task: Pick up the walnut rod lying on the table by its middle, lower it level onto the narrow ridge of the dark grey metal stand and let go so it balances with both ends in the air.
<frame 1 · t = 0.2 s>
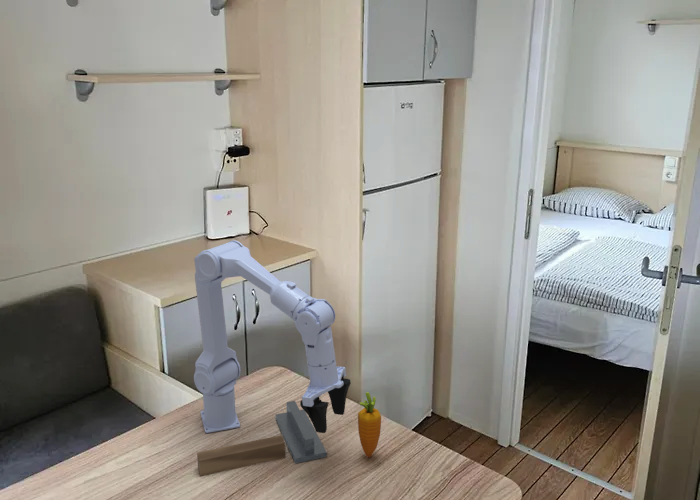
hand: (330, 422, 130), 10 cm above the table, tool pointing down, fingers open, 7 cm apart
carrot: (368, 457, 136), on the table
walnut rod: (242, 463, 134), on the table
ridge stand: (299, 437, 143), on the table
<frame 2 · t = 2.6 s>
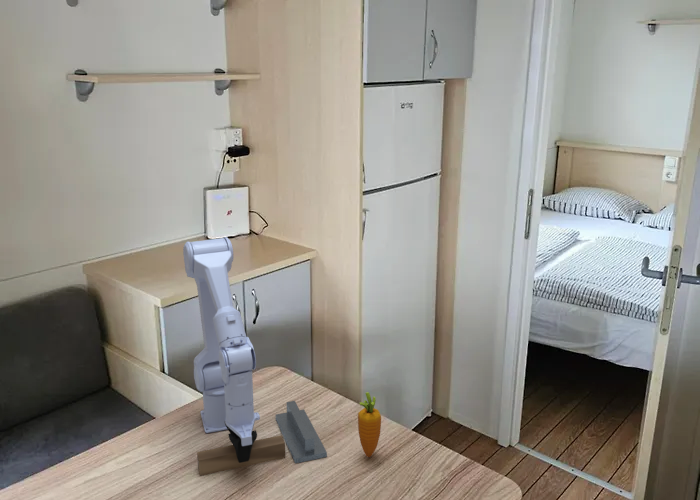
hand: (242, 456, 134), 2 cm above the table, tool pointing down, fingers closed on walnut rod, 3 cm apart
walnut rod: (242, 463, 134), on the table, touching gripper
everything else where it was.
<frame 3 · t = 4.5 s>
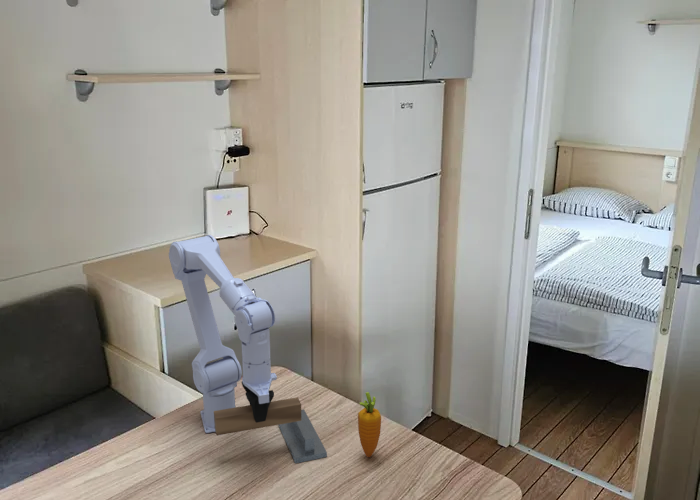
hand: (258, 416, 134), 9 cm above the table, tool pointing down, fingers closed on walnut rod, 3 cm apart
walnut rod: (258, 424, 135), point 8 cm above the table, touching gripper
everything else where it was.
when the fingers open (7 cm above the table, at t = 5.9 s): walnut rod stays where it is, resting on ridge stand.
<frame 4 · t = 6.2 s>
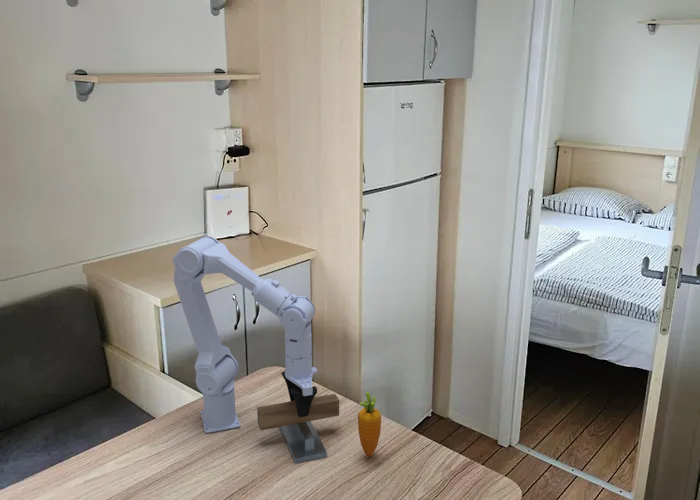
hand: (299, 408, 141), 7 cm above the table, tool pointing down, fingers open, 6 cm apart
walnut rod: (298, 419, 142), point 5 cm above the table, touching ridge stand
everything else where it was.
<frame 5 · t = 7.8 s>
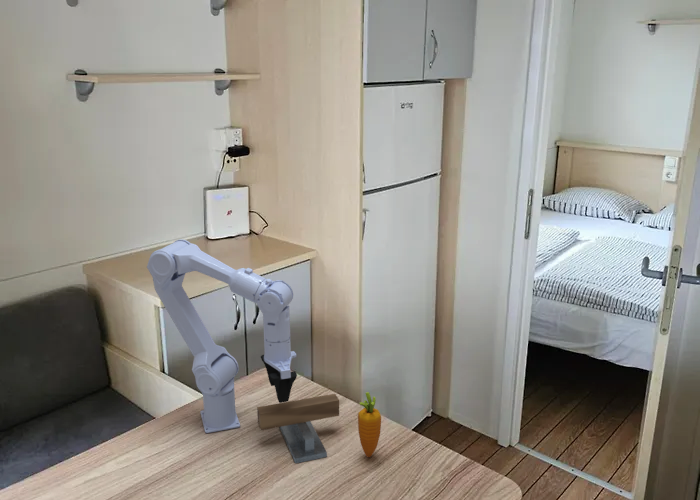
hand: (279, 392, 142), 10 cm above the table, tool pointing down, fingers open, 7 cm apart
nothing on the table moved.
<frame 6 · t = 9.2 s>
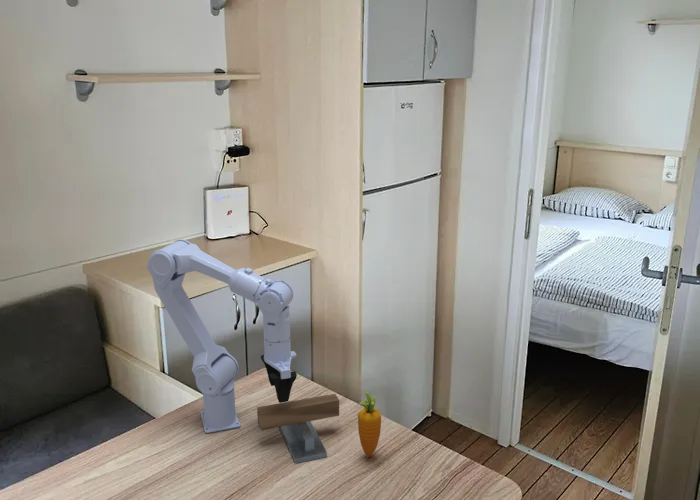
hand: (279, 392, 142), 10 cm above the table, tool pointing down, fingers open, 7 cm apart
nothing on the table moved.
at the end: walnut rod 0.2 cm from the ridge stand (horizontally); walnut rod touching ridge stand; walnut rod tilted 0° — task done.
